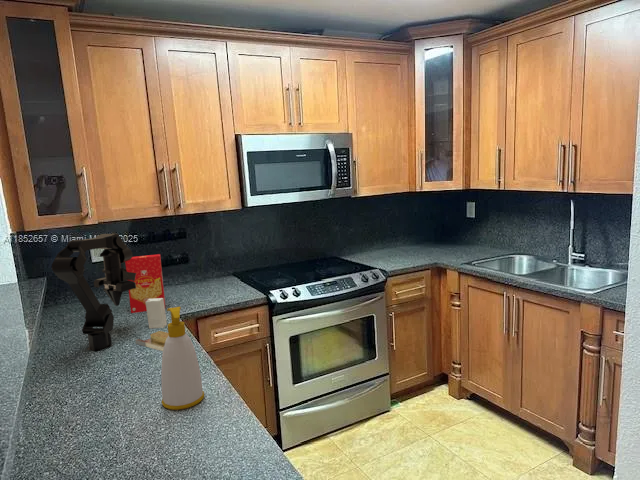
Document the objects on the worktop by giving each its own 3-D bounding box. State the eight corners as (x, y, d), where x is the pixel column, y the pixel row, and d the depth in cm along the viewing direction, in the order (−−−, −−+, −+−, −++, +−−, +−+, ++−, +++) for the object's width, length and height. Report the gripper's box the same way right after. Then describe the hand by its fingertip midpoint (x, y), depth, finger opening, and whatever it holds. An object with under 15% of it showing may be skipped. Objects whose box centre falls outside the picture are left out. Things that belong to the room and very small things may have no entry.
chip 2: (166, 348, 155) (164, 338, 154) (158, 346, 157) (157, 336, 156) (175, 344, 158) (174, 334, 157) (167, 342, 160) (166, 332, 160)
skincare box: (167, 325, 181) (164, 297, 179) (163, 329, 176) (160, 300, 174) (152, 326, 181) (149, 297, 179) (148, 330, 176) (145, 301, 175)
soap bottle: (163, 415, 112) (152, 317, 108) (160, 395, 123) (150, 305, 119) (208, 404, 117) (199, 309, 113) (201, 386, 127) (193, 298, 123)
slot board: (136, 345, 161) (135, 340, 160) (154, 337, 167) (154, 332, 167) (164, 353, 152) (164, 347, 152) (183, 345, 159) (182, 339, 159)
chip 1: (158, 346, 157) (157, 336, 156) (151, 344, 159) (150, 334, 158) (167, 342, 160) (166, 332, 160) (160, 341, 162) (159, 330, 162)
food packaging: (131, 313, 200) (125, 259, 196) (132, 309, 205) (126, 257, 201) (165, 308, 205) (159, 256, 201) (165, 305, 210) (160, 254, 206)
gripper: (146, 263, 170) (150, 302, 172) (117, 260, 180) (121, 297, 182) (119, 269, 161) (124, 311, 163) (90, 266, 170) (95, 304, 173)
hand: (117, 305), depth 170 cm, fingers closed
